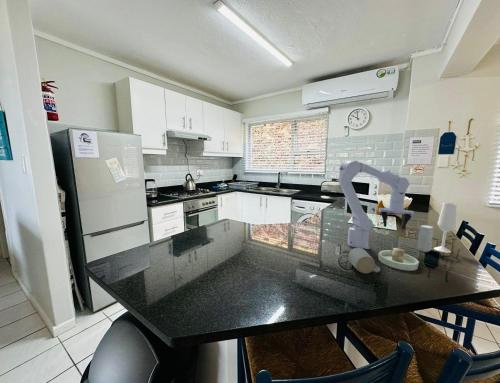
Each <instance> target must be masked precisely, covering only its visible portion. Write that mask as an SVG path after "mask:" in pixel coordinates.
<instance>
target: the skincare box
mask: <svg viewBox="0 0 500 383" xmlns="http://www.w3.org/2000/svg"><path fill="white" fill-rule="evenodd" d="M434 229H435V227H434V226H431V225H426V224H424V225H420V226H419V228H418V238H417V245H416V249H417V250H418V251H421V252H424V253H428V252H430V251H432V246H433V238H434Z"/></svg>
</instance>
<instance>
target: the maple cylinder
mask: <svg viewBox="0 0 500 383" xmlns="http://www.w3.org/2000/svg"><path fill="white" fill-rule="evenodd" d="M392 251H393V254H392V260H393V261H396V262H400V263H403V259H404V254H405V250H404V249H402V248H400V247H399V248H398V247H392Z"/></svg>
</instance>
